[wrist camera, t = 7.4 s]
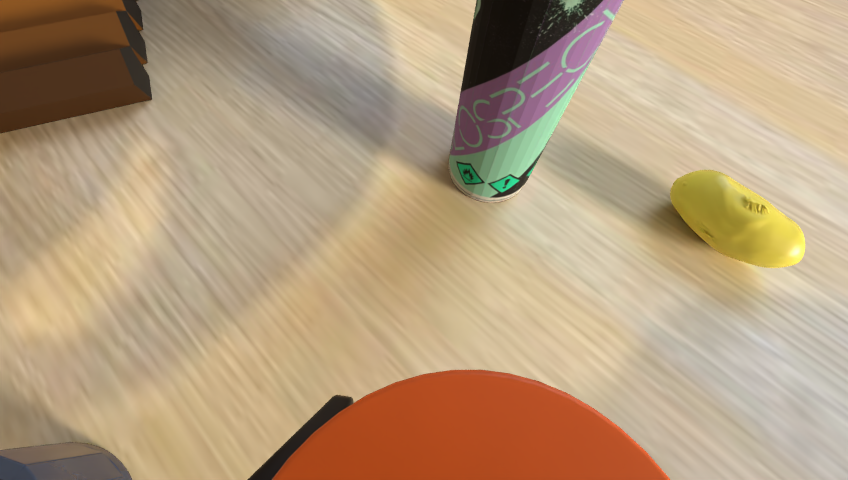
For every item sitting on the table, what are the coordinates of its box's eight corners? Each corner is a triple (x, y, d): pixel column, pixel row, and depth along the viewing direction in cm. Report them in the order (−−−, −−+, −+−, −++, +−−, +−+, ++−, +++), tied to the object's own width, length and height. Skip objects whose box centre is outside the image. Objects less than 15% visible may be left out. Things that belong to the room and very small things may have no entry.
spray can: (431, 161, 27) (485, -345, 9) (490, 122, 29) (640, -381, 10) (485, 218, 26) (681, -248, 7) (544, 174, 27) (830, -307, 9)
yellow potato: (679, 173, 28) (720, 139, 24) (783, 255, 26) (844, 230, 22) (644, 209, 27) (681, 178, 23) (750, 297, 25) (809, 278, 21)
